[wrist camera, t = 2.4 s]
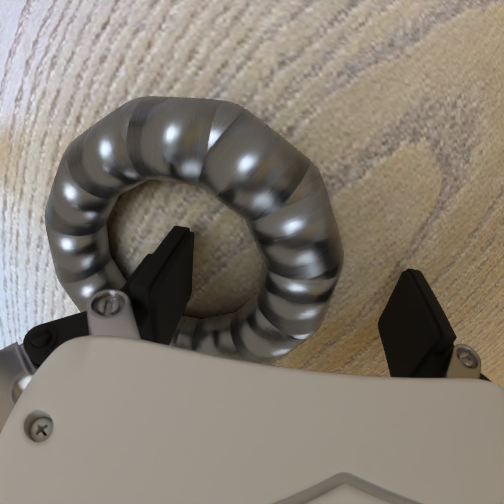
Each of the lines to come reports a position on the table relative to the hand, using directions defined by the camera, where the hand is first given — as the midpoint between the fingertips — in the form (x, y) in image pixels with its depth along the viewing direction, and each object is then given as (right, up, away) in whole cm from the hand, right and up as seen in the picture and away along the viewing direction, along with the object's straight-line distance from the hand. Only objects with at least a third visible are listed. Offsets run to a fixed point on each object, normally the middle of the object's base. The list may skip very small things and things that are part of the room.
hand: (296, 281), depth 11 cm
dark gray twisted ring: (-5, +1, 0) cm, 5 cm away
